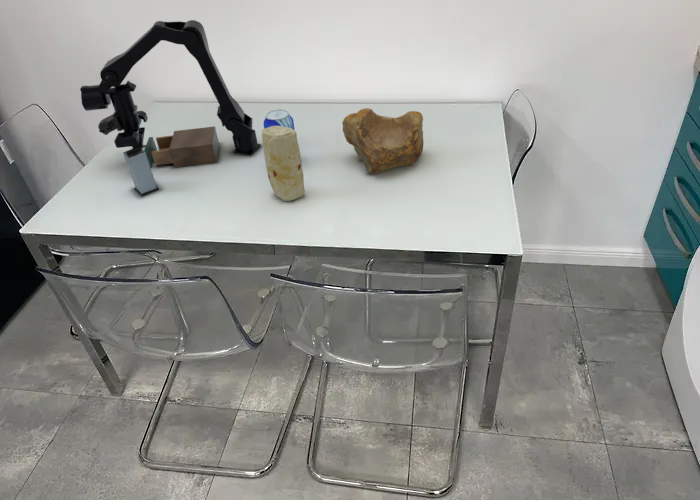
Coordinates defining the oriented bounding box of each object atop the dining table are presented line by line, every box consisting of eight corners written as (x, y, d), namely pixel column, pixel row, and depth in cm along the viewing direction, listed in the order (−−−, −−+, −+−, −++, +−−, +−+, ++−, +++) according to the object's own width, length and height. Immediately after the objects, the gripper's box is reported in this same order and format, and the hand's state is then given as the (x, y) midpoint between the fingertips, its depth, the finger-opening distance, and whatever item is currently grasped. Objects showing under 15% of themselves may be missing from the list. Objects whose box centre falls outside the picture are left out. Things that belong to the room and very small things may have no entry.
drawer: (131, 169, 169) (126, 156, 166) (137, 152, 178) (132, 139, 175) (187, 162, 170) (183, 149, 167) (190, 145, 178) (187, 132, 176)
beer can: (305, 162, 166) (298, 112, 157) (283, 174, 162) (275, 123, 152) (286, 154, 171) (278, 105, 161) (265, 166, 167) (255, 115, 157)
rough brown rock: (340, 182, 158) (337, 136, 148) (345, 149, 170) (342, 104, 160) (423, 183, 156) (426, 136, 146) (422, 149, 168) (425, 104, 158)
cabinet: (174, 167, 170) (169, 149, 166) (179, 148, 179) (174, 130, 175) (216, 162, 170) (212, 144, 166) (219, 144, 180) (215, 126, 176)
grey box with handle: (152, 182, 164) (138, 142, 156) (159, 189, 160) (146, 149, 152) (134, 189, 161) (119, 149, 153) (141, 196, 158) (127, 156, 150)
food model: (308, 190, 154) (299, 122, 142) (302, 203, 149) (292, 135, 137) (274, 188, 156) (263, 121, 144) (267, 201, 151) (254, 133, 139)
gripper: (102, 96, 169) (119, 143, 179) (87, 123, 155) (106, 172, 164) (140, 92, 170) (154, 139, 180) (128, 118, 155) (145, 168, 165)
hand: (139, 154), depth 172 cm, fingers closed, pressing on drawer
